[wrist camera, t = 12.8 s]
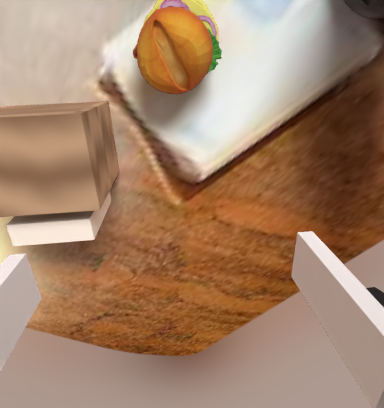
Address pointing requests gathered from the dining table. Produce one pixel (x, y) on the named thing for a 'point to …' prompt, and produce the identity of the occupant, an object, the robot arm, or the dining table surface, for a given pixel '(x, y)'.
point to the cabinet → (56, 158)
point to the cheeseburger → (177, 45)
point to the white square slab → (57, 226)
